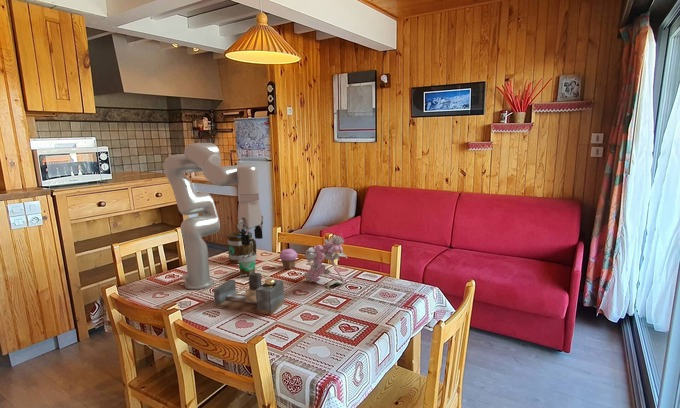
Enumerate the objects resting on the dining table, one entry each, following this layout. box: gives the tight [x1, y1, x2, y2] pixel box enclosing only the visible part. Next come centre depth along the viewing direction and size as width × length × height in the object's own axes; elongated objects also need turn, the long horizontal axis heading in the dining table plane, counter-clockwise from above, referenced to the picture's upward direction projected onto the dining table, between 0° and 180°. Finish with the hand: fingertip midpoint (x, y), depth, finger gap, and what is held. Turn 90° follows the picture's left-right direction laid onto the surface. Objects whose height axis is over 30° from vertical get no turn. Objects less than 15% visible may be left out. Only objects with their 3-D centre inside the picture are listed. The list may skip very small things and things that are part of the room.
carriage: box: [244, 272, 262, 302], centre depth 152 cm, size 5×7×10 cm
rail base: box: [213, 279, 285, 316], centre depth 153 cm, size 25×11×10 cm, turn 72°
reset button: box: [264, 278, 275, 287], centre depth 149 cm, size 4×4×6 cm
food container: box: [238, 252, 257, 279], centre depth 188 cm, size 12×6×10 cm, turn 168°
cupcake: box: [279, 248, 298, 270], centre depth 196 cm, size 9×9×10 cm
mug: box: [226, 231, 257, 265], centre depth 208 cm, size 20×14×15 cm
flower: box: [302, 233, 348, 290], centre depth 174 cm, size 20×22×25 cm
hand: (252, 241), depth 150 cm, fingers open, 9 cm apart
